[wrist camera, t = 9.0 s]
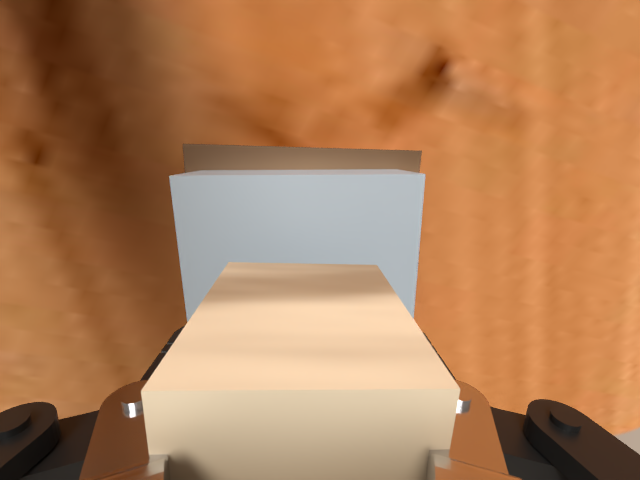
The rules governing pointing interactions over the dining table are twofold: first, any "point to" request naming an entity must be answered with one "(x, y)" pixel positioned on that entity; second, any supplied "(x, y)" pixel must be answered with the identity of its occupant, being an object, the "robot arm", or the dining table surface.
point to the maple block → (300, 380)
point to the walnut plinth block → (295, 158)
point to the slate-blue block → (297, 223)
